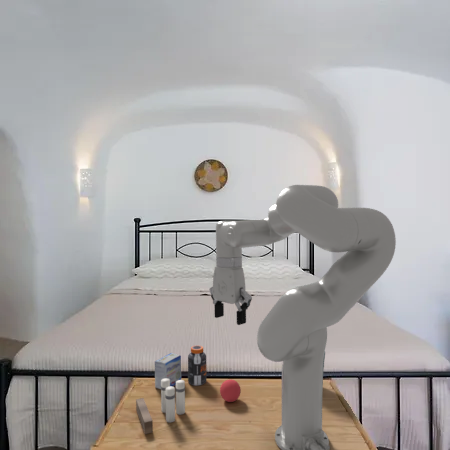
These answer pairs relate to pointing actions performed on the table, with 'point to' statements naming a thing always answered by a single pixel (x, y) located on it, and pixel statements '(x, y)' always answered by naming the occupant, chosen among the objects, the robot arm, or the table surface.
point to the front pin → (180, 397)
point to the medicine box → (168, 369)
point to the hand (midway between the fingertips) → (230, 320)
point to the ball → (230, 390)
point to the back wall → (144, 416)
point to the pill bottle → (197, 366)
